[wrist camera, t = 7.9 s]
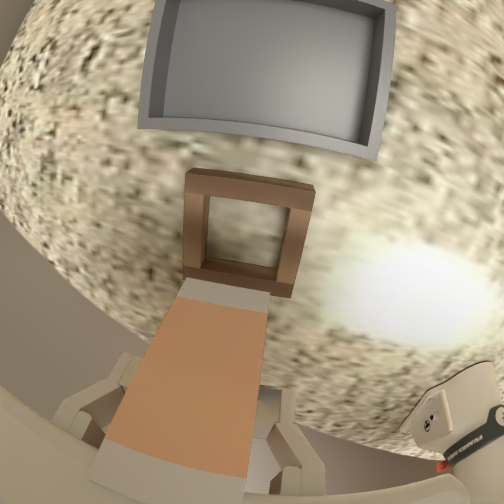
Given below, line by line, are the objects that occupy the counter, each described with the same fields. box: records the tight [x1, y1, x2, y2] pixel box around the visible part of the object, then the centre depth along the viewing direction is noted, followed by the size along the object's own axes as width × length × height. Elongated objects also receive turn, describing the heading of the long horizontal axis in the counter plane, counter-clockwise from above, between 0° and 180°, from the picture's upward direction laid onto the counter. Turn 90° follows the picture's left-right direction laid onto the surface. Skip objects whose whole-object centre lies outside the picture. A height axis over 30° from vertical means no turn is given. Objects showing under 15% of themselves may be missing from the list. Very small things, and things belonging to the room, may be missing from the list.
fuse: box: [87, 277, 270, 504], centre depth 9 cm, size 4×4×10 cm
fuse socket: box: [183, 168, 316, 298], centre depth 22 cm, size 9×9×2 cm
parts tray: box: [138, 0, 396, 161], centre depth 14 cm, size 12×16×4 cm
